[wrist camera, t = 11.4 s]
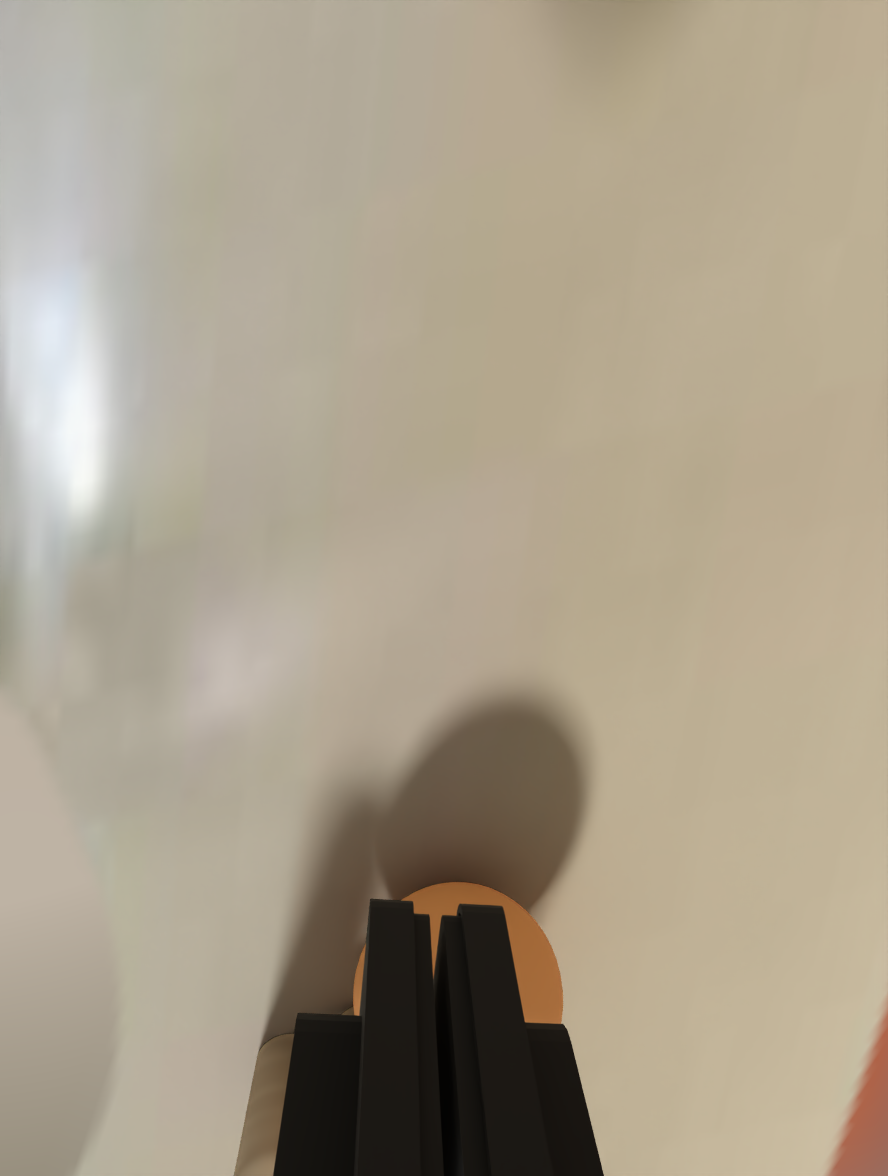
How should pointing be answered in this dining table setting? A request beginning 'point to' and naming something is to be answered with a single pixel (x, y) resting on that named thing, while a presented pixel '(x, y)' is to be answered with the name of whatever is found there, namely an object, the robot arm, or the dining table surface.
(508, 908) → the ball
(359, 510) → the dining table surface
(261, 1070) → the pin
